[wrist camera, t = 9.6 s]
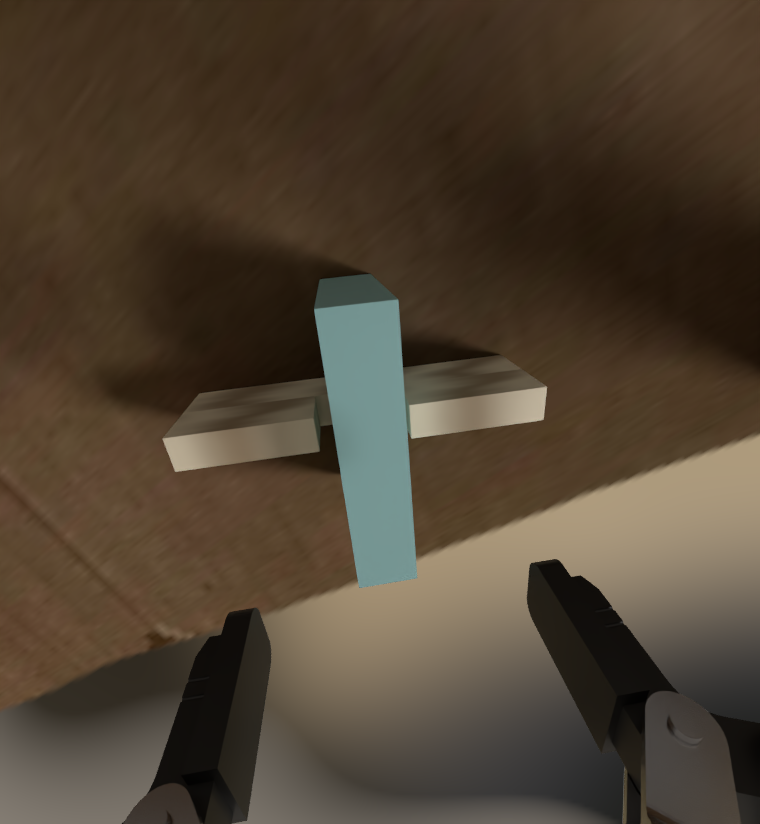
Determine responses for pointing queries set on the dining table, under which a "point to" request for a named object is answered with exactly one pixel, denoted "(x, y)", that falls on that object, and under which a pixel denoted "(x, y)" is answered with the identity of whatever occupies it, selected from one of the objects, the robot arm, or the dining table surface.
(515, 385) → the maple base plate
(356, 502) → the teal cross plate
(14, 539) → the dining table surface
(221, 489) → the dining table surface
